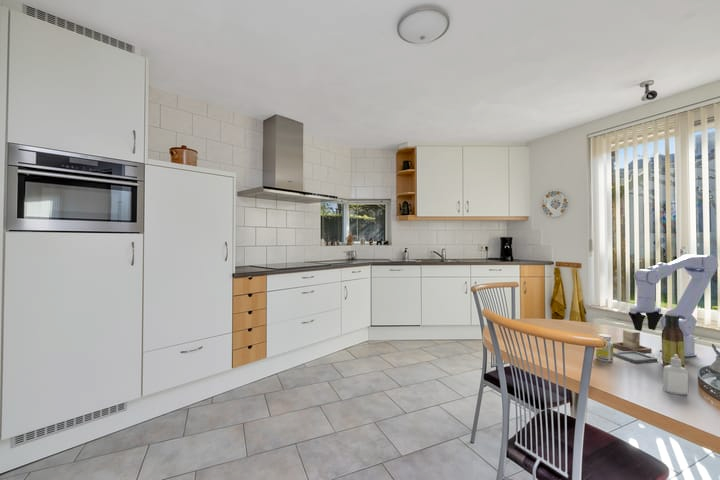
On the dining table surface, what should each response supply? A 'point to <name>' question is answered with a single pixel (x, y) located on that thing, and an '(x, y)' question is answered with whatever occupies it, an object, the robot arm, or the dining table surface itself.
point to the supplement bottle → (605, 350)
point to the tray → (635, 356)
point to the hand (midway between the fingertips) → (645, 329)
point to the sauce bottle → (672, 340)
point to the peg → (631, 339)
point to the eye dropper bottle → (675, 377)
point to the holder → (641, 350)
